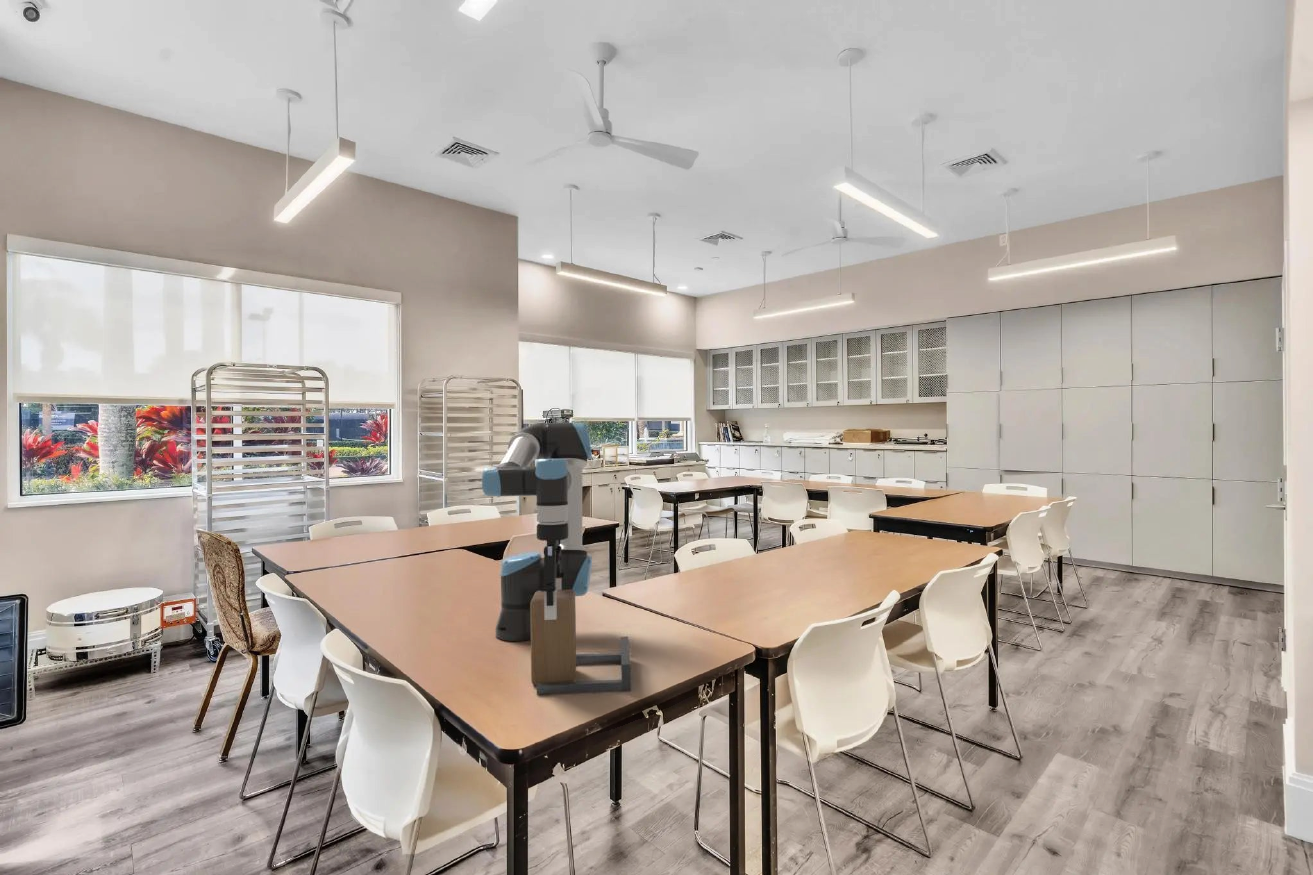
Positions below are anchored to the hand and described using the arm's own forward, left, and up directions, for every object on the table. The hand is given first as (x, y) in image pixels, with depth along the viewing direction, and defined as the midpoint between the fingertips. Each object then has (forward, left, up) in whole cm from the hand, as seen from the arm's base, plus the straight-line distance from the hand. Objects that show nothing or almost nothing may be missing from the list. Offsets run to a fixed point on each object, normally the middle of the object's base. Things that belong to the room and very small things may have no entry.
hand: (553, 611), depth 145 cm
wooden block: (0, 0, -16) cm, 16 cm away
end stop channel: (+7, 0, -16) cm, 17 cm away
